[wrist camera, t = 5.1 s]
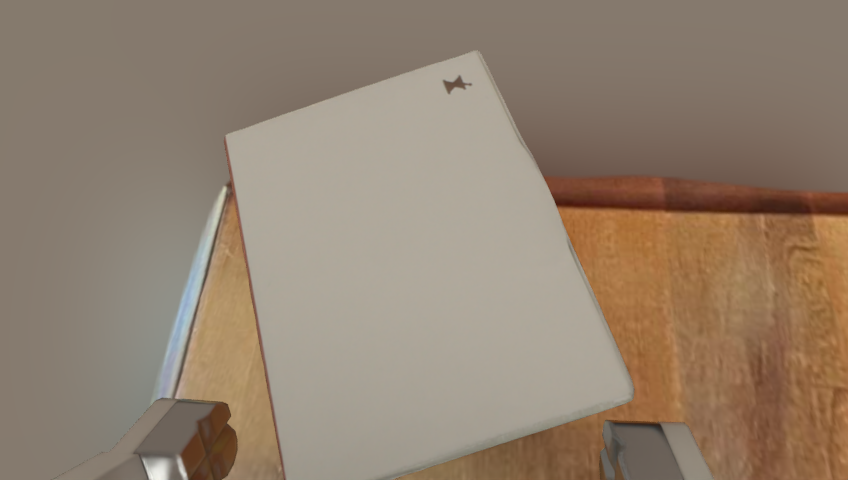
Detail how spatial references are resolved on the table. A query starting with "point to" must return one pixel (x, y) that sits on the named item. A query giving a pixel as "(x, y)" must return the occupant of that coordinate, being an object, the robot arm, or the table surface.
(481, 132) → the small box
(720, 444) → the table surface
